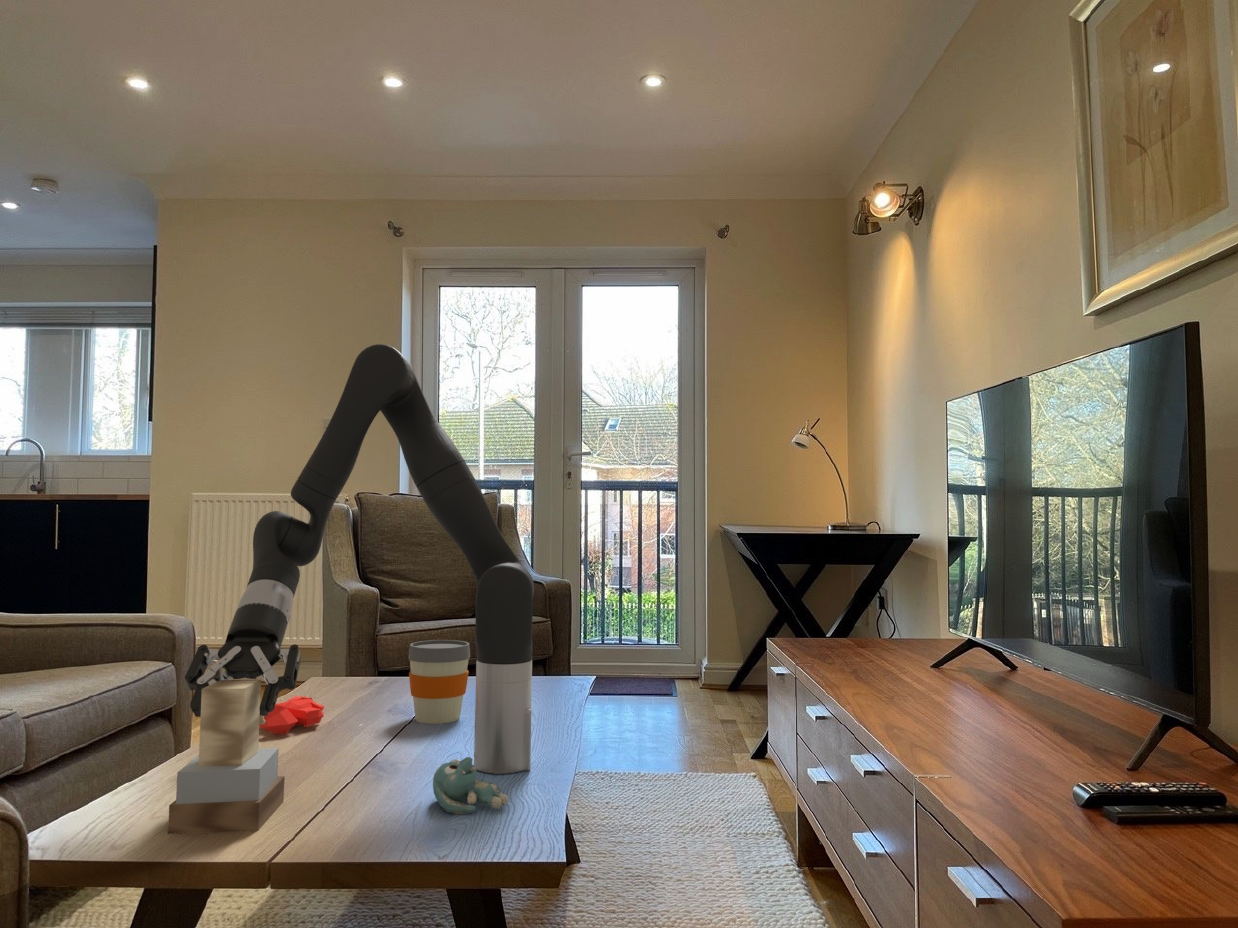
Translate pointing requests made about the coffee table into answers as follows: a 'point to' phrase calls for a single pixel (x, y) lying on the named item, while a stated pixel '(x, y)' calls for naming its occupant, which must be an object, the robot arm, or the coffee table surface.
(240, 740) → the oak block
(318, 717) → the animal figurine
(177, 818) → the tower base
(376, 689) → the coffee table surface
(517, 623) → the robot arm
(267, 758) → the tower top
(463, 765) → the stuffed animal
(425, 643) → the reusable coffee cup
